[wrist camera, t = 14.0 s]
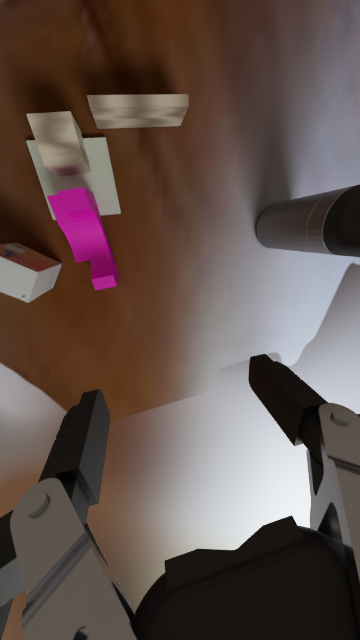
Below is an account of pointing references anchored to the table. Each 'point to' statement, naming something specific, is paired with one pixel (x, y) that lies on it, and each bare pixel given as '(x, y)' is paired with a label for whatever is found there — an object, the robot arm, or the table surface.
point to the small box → (26, 272)
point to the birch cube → (60, 143)
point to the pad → (82, 176)
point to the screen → (138, 110)
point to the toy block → (86, 233)
